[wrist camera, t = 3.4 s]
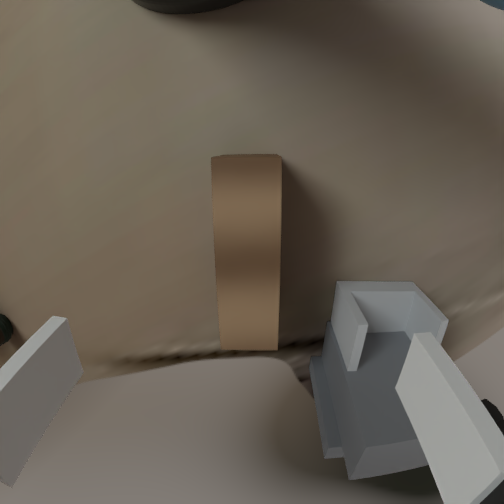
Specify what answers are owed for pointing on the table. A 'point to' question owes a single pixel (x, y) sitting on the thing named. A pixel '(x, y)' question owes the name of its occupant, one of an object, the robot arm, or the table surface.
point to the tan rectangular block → (247, 248)
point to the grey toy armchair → (370, 375)
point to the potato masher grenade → (5, 329)
